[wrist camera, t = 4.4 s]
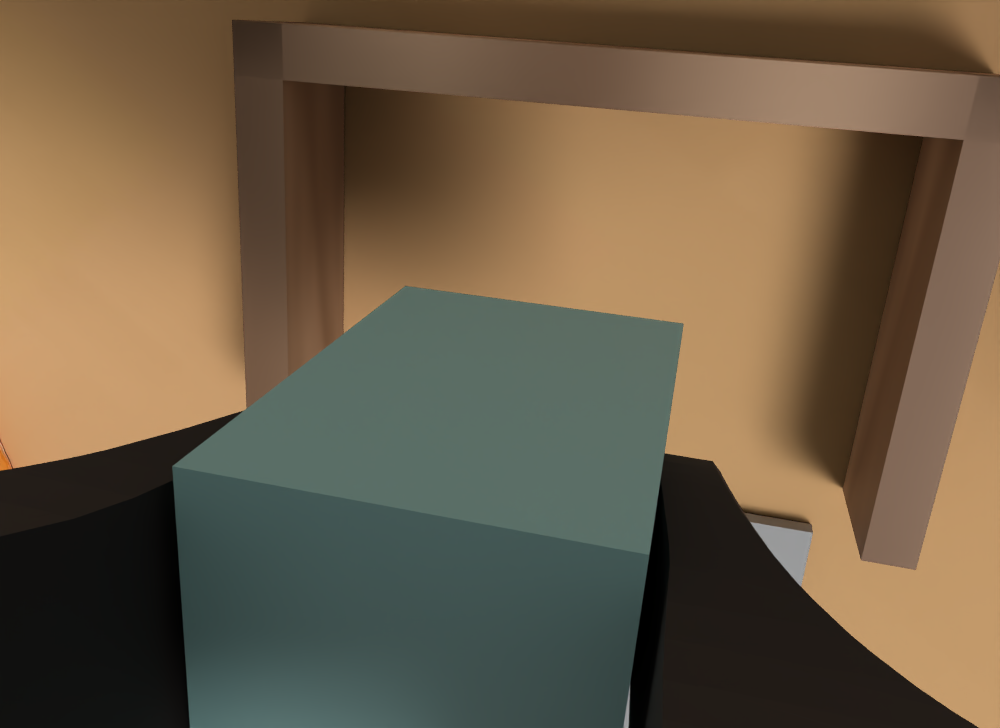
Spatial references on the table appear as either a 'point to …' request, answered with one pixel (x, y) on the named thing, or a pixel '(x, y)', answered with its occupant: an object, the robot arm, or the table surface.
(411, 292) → the teal block
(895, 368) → the walnut pen
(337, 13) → the table surface
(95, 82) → the table surface
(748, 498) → the table surface
